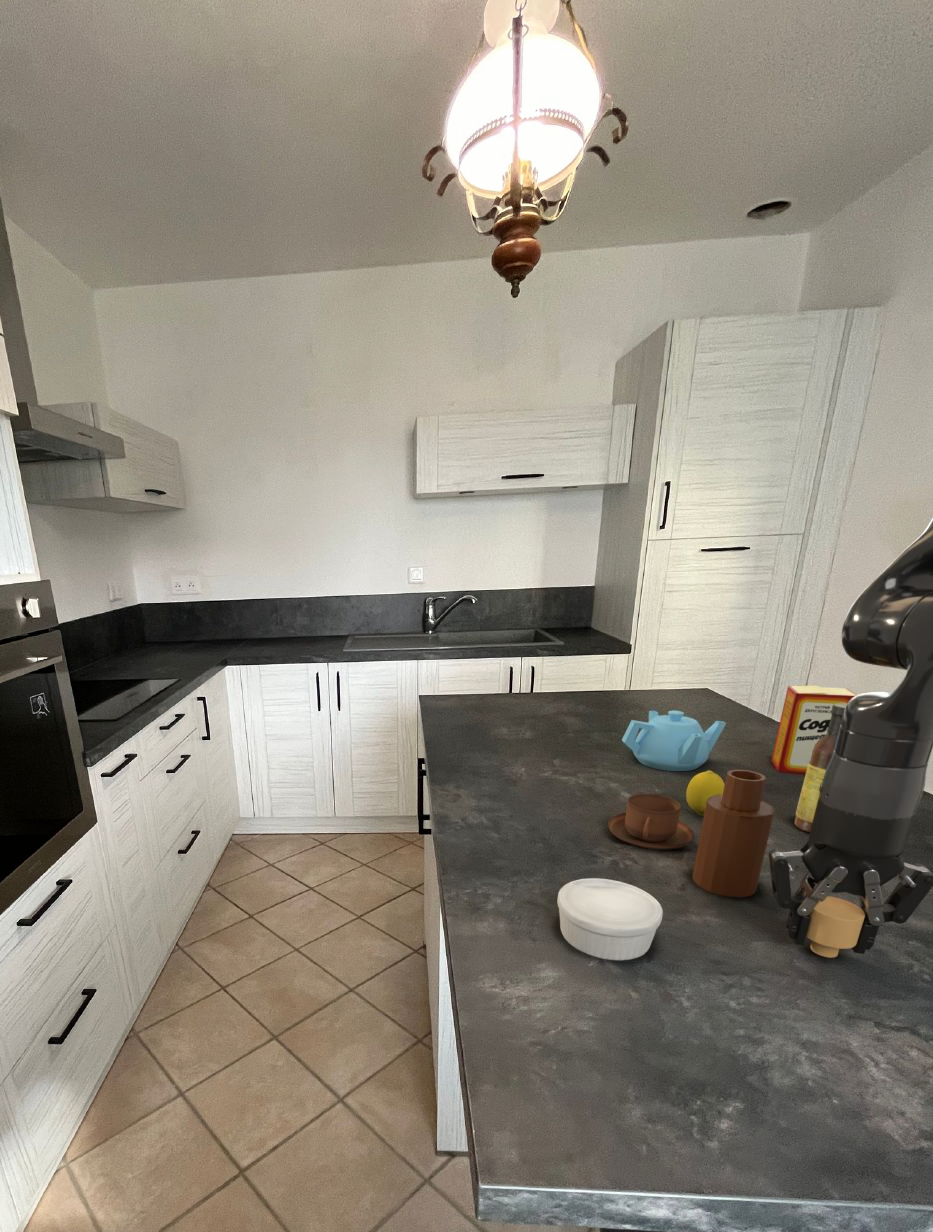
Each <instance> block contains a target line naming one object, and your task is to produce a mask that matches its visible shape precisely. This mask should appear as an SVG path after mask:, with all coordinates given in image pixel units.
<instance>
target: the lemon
mask: <svg viewBox="0 0 933 1232" xmlns="http://www.w3.org/2000/svg"><path fill="white" fill-rule="evenodd" d="M724 786H725V782H724V780H723V779H722V777H721V776H720V775H718V774H717V773H715V772H713V771H712V770H707V771H703V772H700V773H699V772H698V773H697V774H695V775H694V776H693V777H692V778H691V780H690V781H689V783H688V785H687V788H686V793H685V797H686V803H687V804H688V806H689V808H690V809H692V810H693V811H694V812H696V813H697V814H698V815H699V816H703V817H704V813H705V808H706V803H707V800H708V799H709V797H711V796H715V795H723V791H724Z"/></svg>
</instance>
